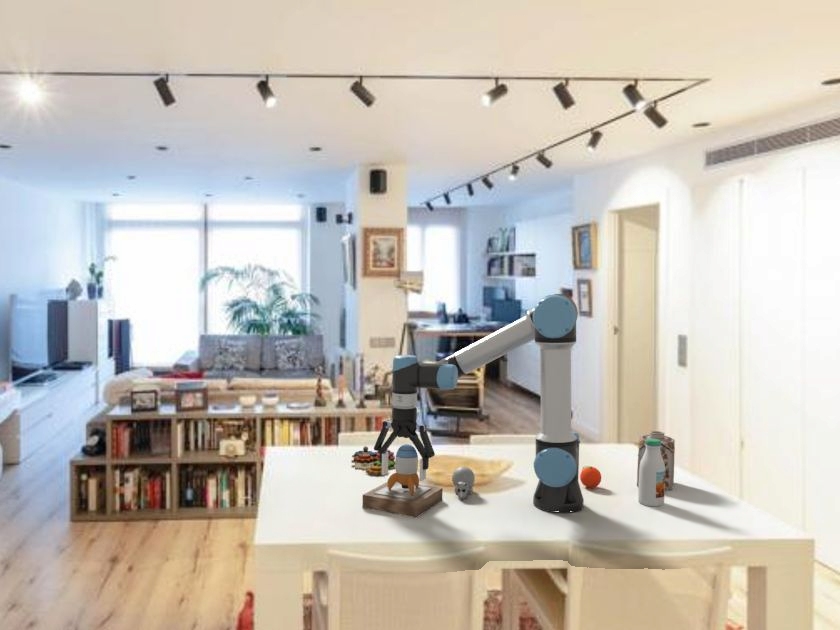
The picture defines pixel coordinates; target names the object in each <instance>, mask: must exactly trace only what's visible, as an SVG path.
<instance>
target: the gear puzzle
mask: <svg viewBox="0 0 840 630" xmlns="http://www.w3.org/2000/svg"><path fill="white" fill-rule="evenodd" d="M385 452H388V470H396V468H395V460H396V457H394V455H395V452H393V451H391V450H390V449H389V448H388V449H387V451H385ZM352 457H354V458H353V459H351V463H354V464H351V467H355V468H354V470H357V469H359V470H361V471H365V474H369V475H375V476H377V475H378V476H379V475H382V463H380V453H379V452H378V451H371V450H369V447H368V446H366V445H365V446H363V448H362V450H359V451H355V453H354V454H352V455H351V458H352ZM351 467H350V468H351Z"/></svg>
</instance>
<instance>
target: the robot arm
mask: <svg viewBox="0 0 840 630" xmlns="http://www.w3.org/2000/svg"><path fill="white" fill-rule="evenodd" d="M578 312H579V311H578V307H577V305H576V303H575V302H574V300H573V299H571V297H569V296H567V295H566V294H561V293H554V294H549V295H546V296H544V297H542V298H541V299H539V301H537V303H536V304H535V306H534V307H532V308H531V309H529V310H527V312H526V315H525V316H523V317H520V318H519V319H517V320H514V322H512V323H510V324H508V325H506V326H504V327H502V328H499V329H498V330H496V331H494V332H492V333H491V334H489V335H486V336H485V337H483V338H481V339H479V340H477V341H475V342H473V343H471V344H469V345H468V346H465V347H464V348H462V349H460V350H458V351H456V352H454V353H452V354H451V355H448V356H446V357H444V358H442V359H441V360H439V361H437V362H435V363H433V362H432V363H430V362H428V363H427V362H419V359H418V358H419V357H418V356H417V355H413V354H412V355H411V354H398V355H395V356H394V357H393V359H392V370H391V372H392V373H391V374H392V380H391V381H392V392H391V394H392V395H391V396H392V397H391V400H392V401H391V405H392V408H391V419H392V421H390V420H388V419H387V420H384V421H382V425H381V427H382V428H381V430H380V433H379V434H378V437H377V440H376V442H375V444H374V446H373V450H374V452H379V453H380V463H382V474H381V476H385V475H387V474H389V469H388V452H385V451H387V449H388V450H389V447H390V446H391V445H392V443H394V441H395V439H397V437H398V438H404V439H409V441H411V443H412V444H413V446H414V448H415V450H416V451H417V453H419V455H420V457H421V458H419V482H420V481H421V482H423V481H425V480H427V477H426V476H427V475H426V474H427V470H428V469H429V467H430V466H429V459H430V458H431V459H432V458H433V457H435V456H436V452H435V450H434V448H433V445H432V443H431V440H430V437H429V435H428V432H427V431H428V429H427V424H425V423H424V424H418V423H417V422H418V421H417V419H418V408H417V406H418V388H419V389H431V390H432V389H435V390H442V391H445V390H454V389H456V387H457V385H458V380H459V379H460V378H462V377H464V376H465V375H468V374H469V373H472V372H473V371H475V370H477V369H479V368H481V367H483V366H485V365H488V364H489V363H491V362H493V361H494V360H495V361H496V359H499V358H501V357H502V356H505V355H507V354H509V353H510V352H513V351H514V350H516V349H518V348H520V347H522V346H524V345H526V344H528V343H530V342H533V341H534V343H535V344H536V345H537V346H538V347H539V349H540V350H539V351H540V353H539V354H540V355H539V356H540V358H539V359H540V364H539V367H540V371H539V372H540V432H538V433H537V434H536V435H535V458H534V461H533V470H534V473H535V475H536V478H537V479H538V482H537V486H536V487H535V491H534V493H533V496H532V497H533V498H532V499H533V500H532V501H533V502H532V504H533V506H534V507H536V508H537V509H540V510H542V509H543V510H542V511H546V510H548V511H547V512H551V511H559V512H558V513H560V512H568V513H571V512H570V511H576V512H579V511H582V510H583V509H584V506H585V505H584V503H585V501H584V497H583V492H582V489H581V485H580V483H579V474H580V473H579V469H580V468H579V466H580V443H581V440H580V434H579V433H578V432H577V431H573V430H572V347H574V345H575V344H576V343H577V320H578V316H579V315H578ZM390 428H392V432H391V433H390V435H389V436H388V438H387V439H386V437H387V435H388V432H389V429H390ZM416 431H417V432H418V433H419V434H418V433H417V432H416ZM419 435H420V438H419ZM385 439H386V440H385ZM420 439H421V440H420ZM582 508H583V509H582ZM578 510H579V511H578Z"/></svg>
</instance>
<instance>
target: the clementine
mask: <svg viewBox="0 0 840 630" xmlns="http://www.w3.org/2000/svg"><path fill="white" fill-rule="evenodd" d="M579 474H580V475H579V479H580V482H581V484H582V485H583V486H585V487H586V488H589V489H594V488H596V487H598V486H599V485H600V484H601V482H602V473H601V472H600V470H599V469H598V468H596V467H594V466H589V465H587V466H586V465H585V466H583V467H582V468H581V472H580V473H579Z"/></svg>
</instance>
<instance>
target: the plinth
mask: <svg viewBox="0 0 840 630" xmlns="http://www.w3.org/2000/svg"><path fill="white" fill-rule="evenodd" d="M387 482H388V481H386V482H385V483H383V484H381V485H379V486H377V487H375V488H373V489H371V490H369V491H368V492H365V493H363V494H362V507H361V508H362V509H367V510H372V511H378V512H384V513H387V514H394V515H399V514H401V515H400V516H405V515H406V517H410V516H412V517H413V518H416V517H417V518H418V517H420V516H421V515H423V514H424V513H426V512H427V511H428V510H430V509H433V507H435V506H436V505H438V504H439V503H441V502H442V501H443V487H439V486H433V485H428V484H427V485H425V484H420V483H419V486H418V487H416V486H415V485H414V495H413V496H411V495H410V491H409V489H404V488H402V485H401V484H400V483H398V482H396V483H395V484H394V486H393V487H392V488H391V490H389V489H388V486H387ZM422 513H423V514H422ZM419 515H420V516H419Z"/></svg>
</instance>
